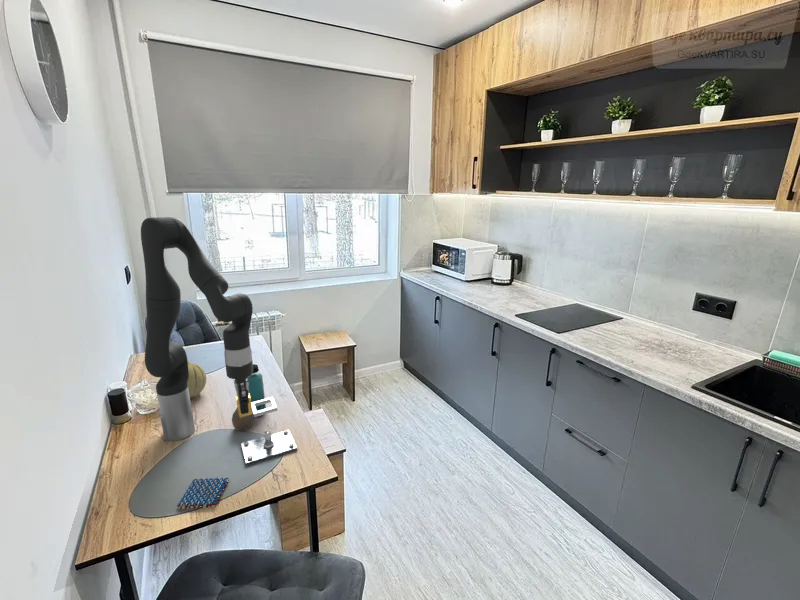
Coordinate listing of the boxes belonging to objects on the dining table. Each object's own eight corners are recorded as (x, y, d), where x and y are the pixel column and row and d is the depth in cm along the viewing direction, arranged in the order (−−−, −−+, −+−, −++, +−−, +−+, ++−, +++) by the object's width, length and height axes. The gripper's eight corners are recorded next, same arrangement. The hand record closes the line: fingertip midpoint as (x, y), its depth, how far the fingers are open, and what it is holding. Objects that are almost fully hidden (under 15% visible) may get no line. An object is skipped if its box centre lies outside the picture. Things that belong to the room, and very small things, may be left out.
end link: (240, 421, 116) (237, 404, 114) (238, 409, 122) (234, 393, 120) (277, 410, 121) (274, 394, 119) (273, 399, 127) (270, 383, 125)
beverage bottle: (260, 419, 143) (255, 370, 137) (244, 417, 144) (239, 369, 139) (269, 409, 149) (265, 363, 144) (254, 407, 150) (249, 361, 145)
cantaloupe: (165, 409, 149) (159, 374, 144) (170, 391, 161) (164, 359, 157) (208, 401, 154) (203, 367, 150) (209, 384, 167) (204, 353, 163)
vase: (234, 435, 134) (231, 413, 131) (232, 424, 140) (229, 403, 137) (254, 430, 137) (252, 408, 134) (252, 420, 143) (249, 399, 140)
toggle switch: (245, 465, 119) (243, 449, 117) (241, 445, 128) (239, 430, 127) (297, 450, 127) (296, 434, 125) (289, 432, 136) (288, 417, 134)
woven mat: (193, 482, 113) (192, 477, 112) (230, 481, 114) (229, 475, 113) (175, 511, 103) (174, 505, 102) (216, 509, 104) (215, 503, 103)
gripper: (223, 353, 119) (229, 402, 124) (227, 372, 107) (233, 425, 112) (249, 348, 122) (253, 396, 127) (255, 367, 110) (260, 419, 115)
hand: (244, 409), depth 119 cm, fingers closed on end link, 3 cm apart
